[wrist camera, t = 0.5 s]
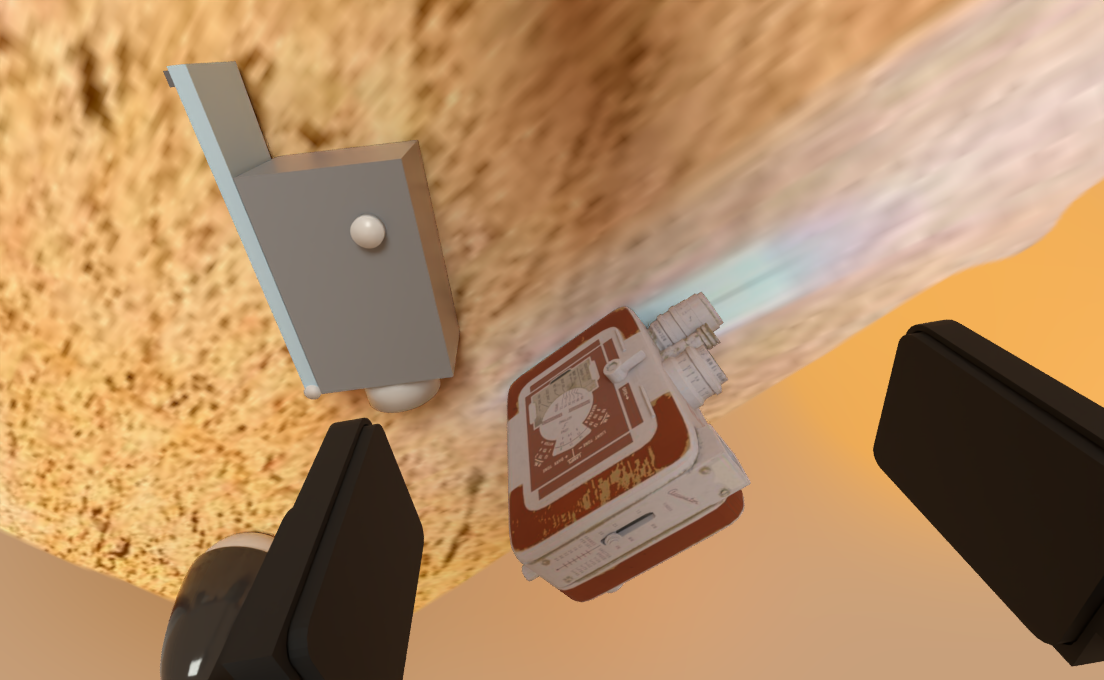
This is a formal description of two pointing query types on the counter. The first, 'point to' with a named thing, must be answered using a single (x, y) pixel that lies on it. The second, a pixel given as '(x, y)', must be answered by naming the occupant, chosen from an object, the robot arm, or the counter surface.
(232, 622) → the dark grey egg-shaped piece
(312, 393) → the side door
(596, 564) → the cine camera
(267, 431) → the counter surface
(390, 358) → the block
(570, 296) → the counter surface
